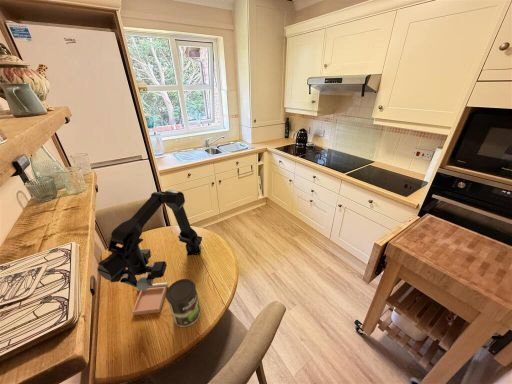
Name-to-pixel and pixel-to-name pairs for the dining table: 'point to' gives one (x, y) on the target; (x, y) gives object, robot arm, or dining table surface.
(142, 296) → the dish
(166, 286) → the wall
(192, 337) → the dining table surface
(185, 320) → the coffee can
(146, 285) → the ball
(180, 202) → the robot arm
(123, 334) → the dining table surface
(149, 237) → the dining table surface
